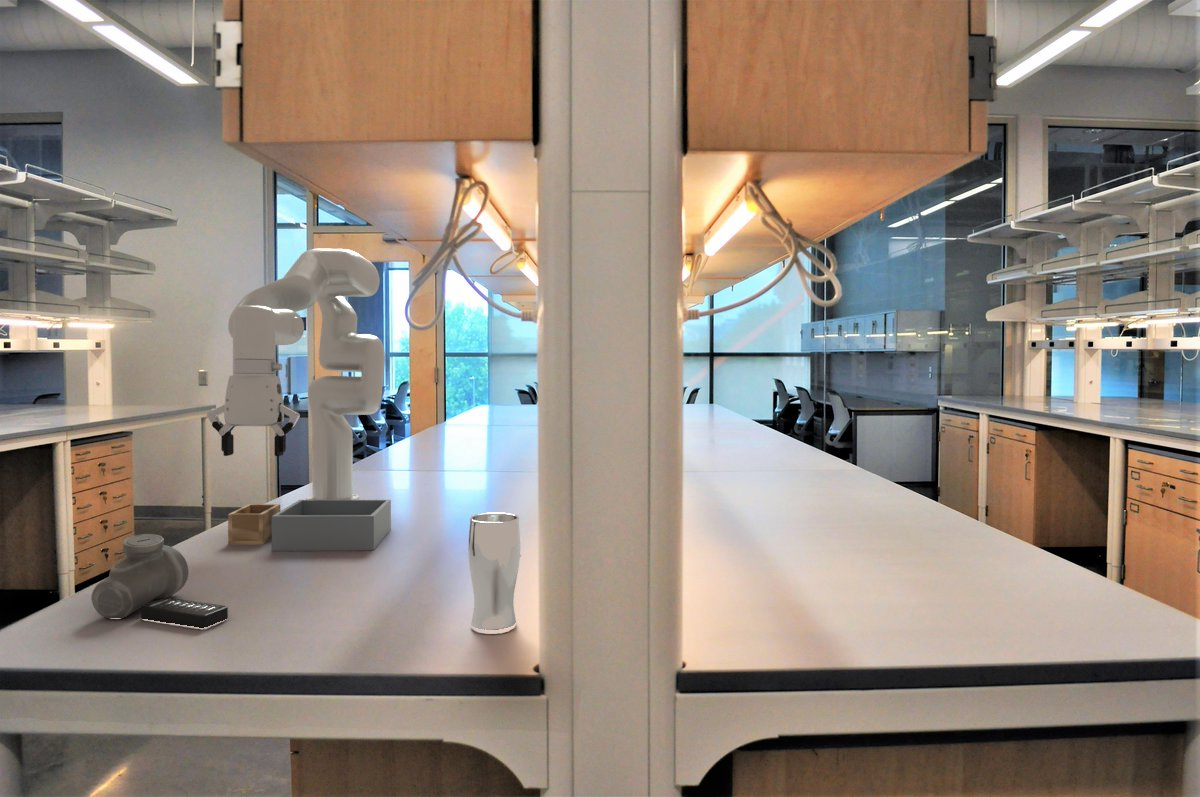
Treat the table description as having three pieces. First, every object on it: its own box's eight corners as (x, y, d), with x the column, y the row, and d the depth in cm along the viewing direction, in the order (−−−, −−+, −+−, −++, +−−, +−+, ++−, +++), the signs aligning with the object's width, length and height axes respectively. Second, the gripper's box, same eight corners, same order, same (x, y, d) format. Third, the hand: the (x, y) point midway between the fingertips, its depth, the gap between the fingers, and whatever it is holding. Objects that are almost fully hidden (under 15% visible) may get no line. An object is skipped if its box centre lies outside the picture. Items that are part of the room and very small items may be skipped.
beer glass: (515, 637, 97) (517, 523, 96) (462, 635, 97) (463, 522, 96) (522, 618, 104) (523, 512, 103) (473, 617, 104) (473, 511, 103)
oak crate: (248, 533, 152) (248, 504, 152) (280, 533, 153) (280, 504, 153) (228, 545, 142) (228, 514, 142) (262, 545, 143) (262, 514, 143)
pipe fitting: (140, 589, 112) (139, 525, 111) (190, 596, 112) (190, 531, 110) (78, 626, 101) (76, 555, 99) (135, 633, 100) (134, 562, 98)
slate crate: (299, 530, 154) (299, 499, 154) (390, 530, 156) (390, 499, 156) (271, 550, 138) (271, 516, 138) (373, 550, 140) (373, 516, 139)
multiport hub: (203, 633, 97) (203, 616, 97) (139, 623, 101) (139, 606, 100) (229, 622, 101) (229, 605, 101) (167, 612, 105) (167, 596, 105)
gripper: (305, 369, 150) (304, 453, 151) (216, 368, 149) (216, 453, 149) (293, 369, 143) (292, 457, 143) (199, 368, 141) (199, 457, 142)
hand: (253, 455), depth 146 cm, fingers open, 9 cm apart
